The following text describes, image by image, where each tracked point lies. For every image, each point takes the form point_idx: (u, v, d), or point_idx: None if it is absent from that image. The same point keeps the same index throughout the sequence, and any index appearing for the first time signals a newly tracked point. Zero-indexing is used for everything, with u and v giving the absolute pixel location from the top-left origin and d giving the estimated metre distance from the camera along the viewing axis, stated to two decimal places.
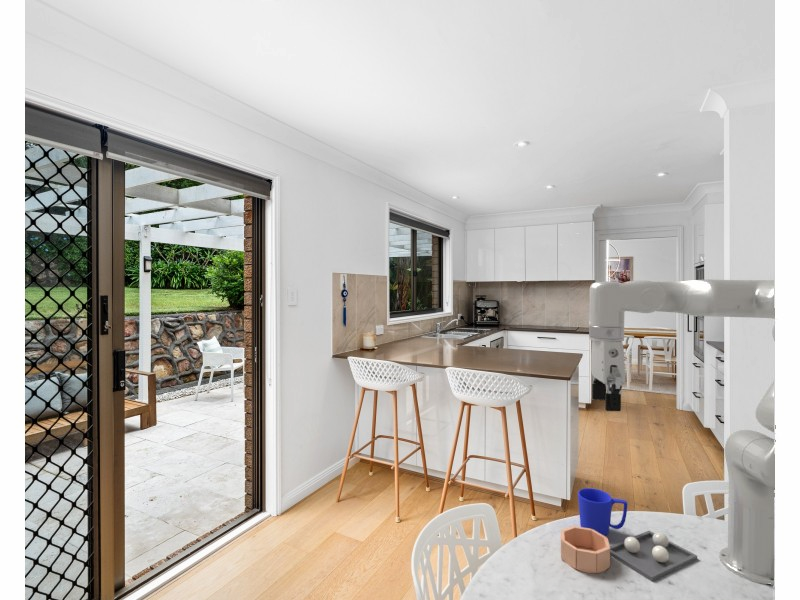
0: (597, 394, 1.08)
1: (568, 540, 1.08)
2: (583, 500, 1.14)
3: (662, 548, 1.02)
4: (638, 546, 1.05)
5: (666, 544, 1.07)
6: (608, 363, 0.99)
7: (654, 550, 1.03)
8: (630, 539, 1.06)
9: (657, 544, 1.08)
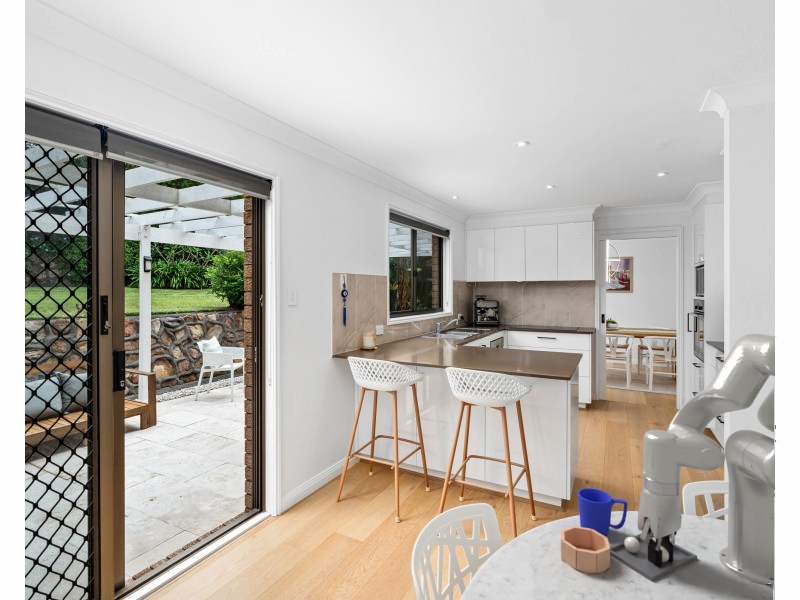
0: None
1: (568, 540, 1.08)
2: (583, 500, 1.14)
3: (662, 548, 1.02)
4: (638, 546, 1.05)
5: None
6: None
7: None
8: (630, 539, 1.06)
9: None
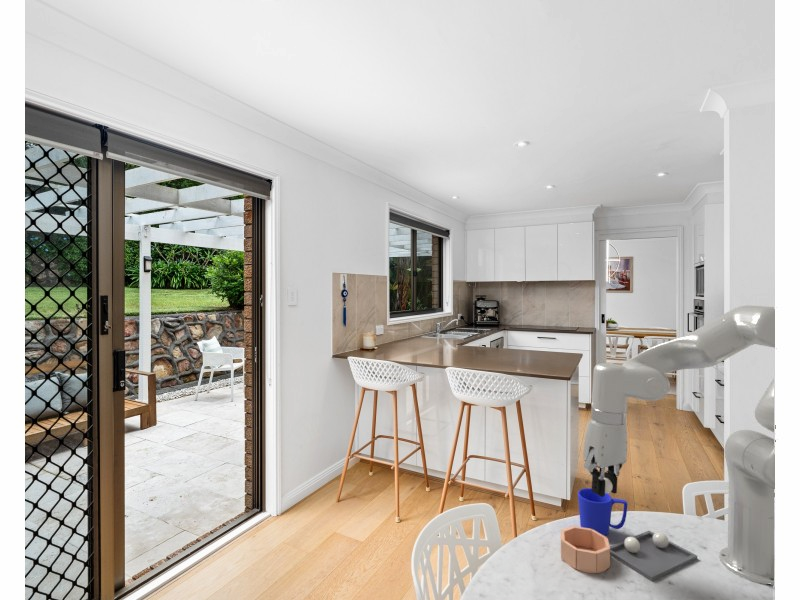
0: None
1: (568, 540, 1.08)
2: (583, 500, 1.14)
3: (606, 479, 1.03)
4: (638, 546, 1.05)
5: (666, 544, 1.07)
6: None
7: None
8: (630, 539, 1.06)
9: (657, 544, 1.08)
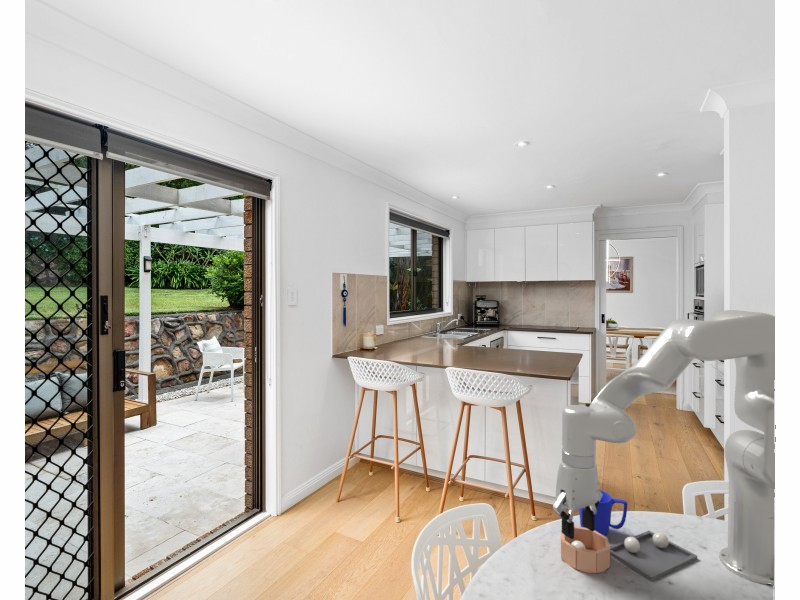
0: None
1: (568, 540, 1.08)
2: None
3: (579, 543, 1.04)
4: (638, 546, 1.05)
5: (666, 544, 1.07)
6: None
7: None
8: (630, 539, 1.06)
9: (657, 544, 1.08)
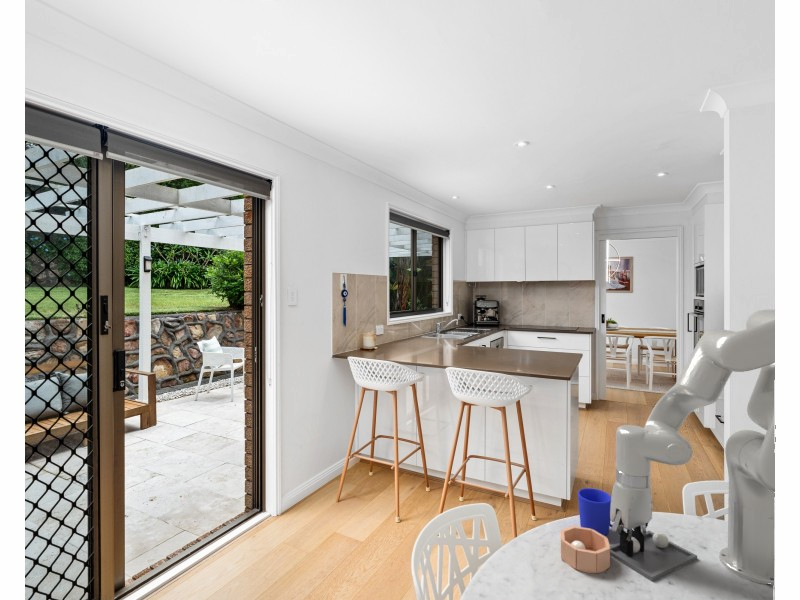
0: None
1: (568, 540, 1.08)
2: (583, 500, 1.14)
3: (579, 543, 1.04)
4: (638, 546, 1.05)
5: (666, 544, 1.07)
6: None
7: None
8: None
9: (657, 544, 1.08)
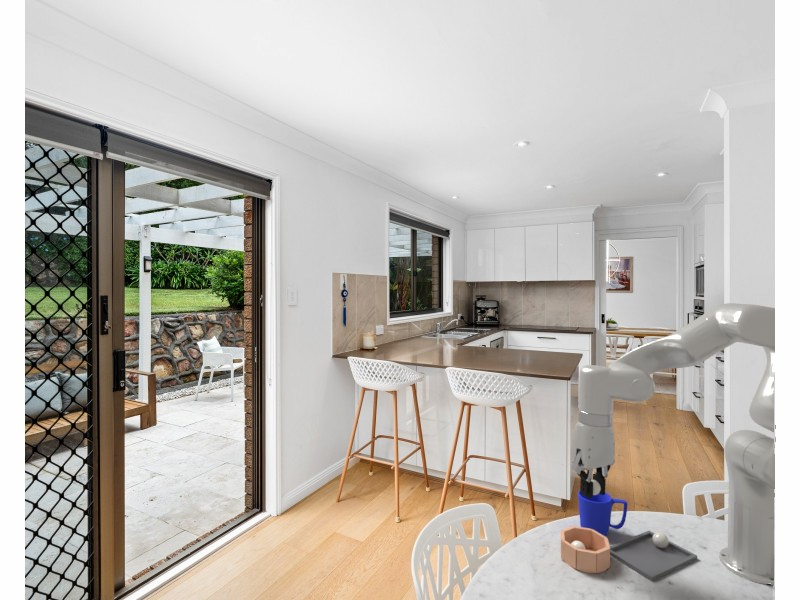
0: None
1: (568, 540, 1.08)
2: (583, 500, 1.14)
3: (579, 543, 1.04)
4: (598, 488, 1.02)
5: (666, 544, 1.07)
6: None
7: None
8: None
9: (657, 544, 1.08)
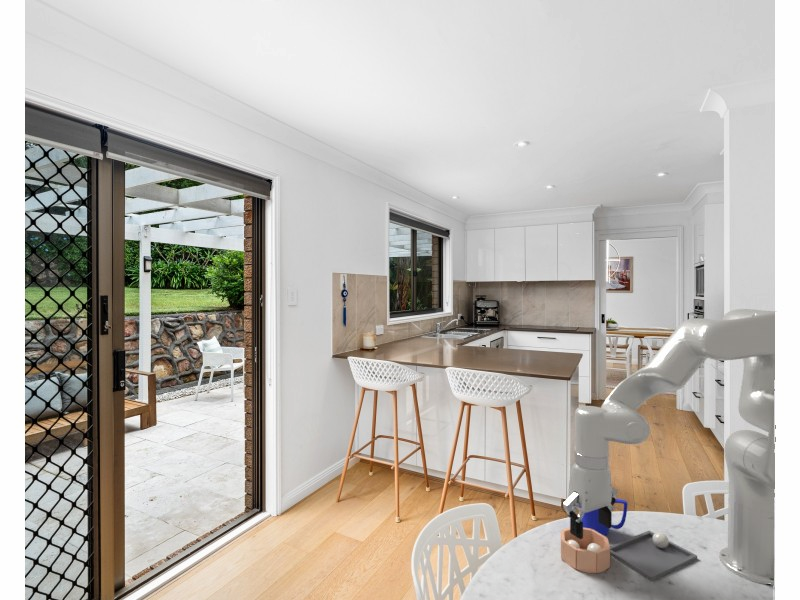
0: None
1: None
2: None
3: (568, 542, 1.05)
4: None
5: (666, 544, 1.07)
6: None
7: None
8: None
9: (657, 544, 1.08)
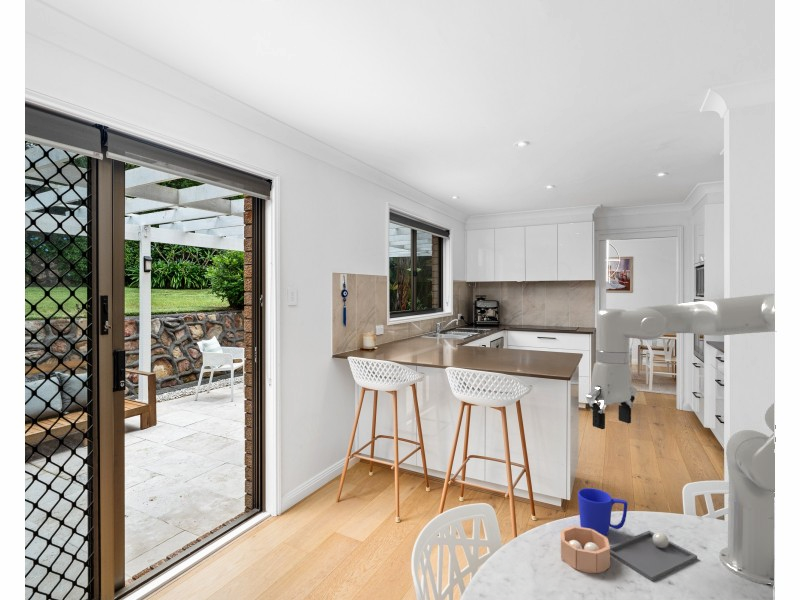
0: None
1: (568, 540, 1.08)
2: (583, 500, 1.14)
3: (572, 542, 1.05)
4: None
5: (666, 544, 1.07)
6: None
7: None
8: (597, 547, 1.03)
9: (657, 544, 1.08)
